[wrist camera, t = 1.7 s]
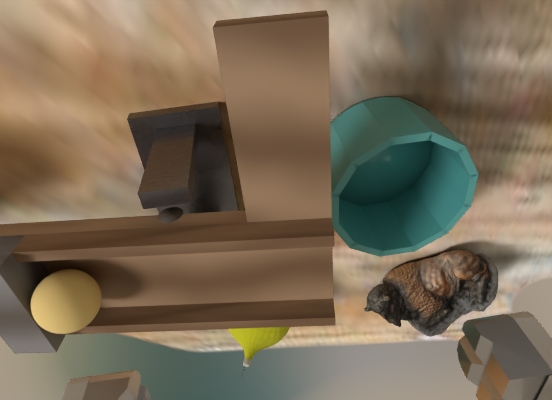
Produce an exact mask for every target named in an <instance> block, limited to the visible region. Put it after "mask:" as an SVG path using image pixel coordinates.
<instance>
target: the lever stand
mask: <svg viewBox="0 0 552 400" xmlns="http://www.w3.org/2000/svg"><path fill="white" fill-rule="evenodd" d="M127 120H128V123H129V126H130V129H131V132H132V134H133V137H134V140H135V143H136V146H137V149H138V152H139V155H140V158H141V161H142V164H143V167H144V170H145V171H144V174H143V178H142V181H141V184H140V188H139V191H138V195H139V198H140V201H141V204H142V206H143V209H148V208H156V207H157V208H158V211H159V213H160V212H161V211H163V210H164V209H167V208H170V207H179V208H181V209H182V210H183V212H184V214H189V213H207V212H224V211H239V208H238V203H237V198H236V193H235V187H234V182H233V177H232V172H231V166H230V161H229V156H228V150H227V145H226V140H225V135H224V129H223V124H222V119H221V114H220V108H219V103H218V102H213V103H206V104H198V105H191V106H183V107H176V108H168V109H161V110H153V111H146V112H138V113H131V114H129V116H128V118H127Z"/></svg>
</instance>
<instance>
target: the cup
mask: <svg viewBox="0 0 552 400" xmlns="http://www.w3.org/2000/svg"><path fill="white" fill-rule="evenodd" d="M330 141H331V201H332V223H333V229H334V230H335V231H336V232H337V233H338V235H339V236H340V237H341V238H342V239H343V241H344V242H345V243H346V244H347V245H348V246H349V248H352V249H355V250H359V251H362V252H366V253H369V254H373V255H376V256H387V255H393V254H400V253H407V252H414V251H416V250H418V249H420V248H422V247H424V246H425V245H427V244H429V243H431V242H433V241H435V240H436V239H438V238H440V237H442V236H444V235H446V234H447V233H448V232H449V231H450V230H451V229H452V228H453V226H454V225H455V224H456V223H457V222H458V221H459V219H460V218H461V217H462V216H463V215H464V214H465V212H466V211H467V210H468V209H469V208H470V207H471V204H472V200H473V196H474V191H475V187H476V183H477V179H478V175H479V174H478V172H477V169H476V167H475V165H474V163H473V161H472V159H471V157H470V155H469V152H468V150H467V148H466V146H465V145H464V144H463V143H462V142H461V141H460V140H459V139H458V138H456V137H455V136H454V135H453V134H452V133H451V132H450V131H449V130H448V129H447V128H446V127H445V126H444V125H443V124H442V123H441V122H440V121H439V120H438V119H437V118H435V117H434V116H433V115H432V114H431V113H430V112H429V111H428V110H426V109H424V108H422V107H420V106H418V105H417V104H415V103H413V102H412V101H409V100H407V99H404V98H400V97H391V96H384V97H375V98H370V99H367V100H364V101H361V102H359V103H357V104H354V105H352V106H351V107H349V108H347V109H346V110H344V111H343V112H342V113H340V114H339V115H338V116H337V117H336V118H335V119H334V120H333V121H331V123H330Z"/></svg>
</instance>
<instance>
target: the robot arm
mask: <svg viewBox="0 0 552 400" xmlns="http://www.w3.org/2000/svg"><path fill="white" fill-rule="evenodd" d="M462 331H463V332H464V334H465V336H464V337H462V338H461V339H460V340H459V342H458V347H457V352H458V359H459V362H460V365H461V368H462V370H463V372H464V374H465V376H466V378H467V379H468V380H470V381H471V382H473V383H474V384H476V385H477V386H478V387H477V393H476V396H477V398H478V400H552V338H551V337H550V335H549V334H548V333H547V332H546V330H545V329H544V328H543V327H542V325H541V324H540V323H539V322H538V320H537V319H536V318H535V317H534V316H533V315H532V314H531V313H529V312H518V313H511V314H502V315H496V316H490V317H484V318H478V319H472V320H467V321H466V322H464V324H463V327H462ZM140 380H141V377H140V375H139V373H138V371H137V370H133V371H125V372H118V373H110V374H104V375H96V376H88V377H81V378H74V379H71V380H70V381H69V383H68V384H67V386H66V388H65V390H64V393H63V395H62V398H61V400H150V396H149V393H148V390H147V388H146V387H144V386H141V385H140Z"/></svg>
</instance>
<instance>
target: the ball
mask: <svg viewBox="0 0 552 400" xmlns="http://www.w3.org/2000/svg"><path fill="white" fill-rule="evenodd" d="M100 306H101V290H100V288H99V285H98V283H97V282H96V281H95V279H94V278H93V277H92V276H90V275H89V274H87V273H85V272H83V271H80V270H75V269H65V270H60V271H57V272H54V273H52V274H50V275H48V276H47V277H46V278H44V279H43V280H42V281H41V282H40V283H39V284H38V286H37V287H36V288H35V290H34V292H33V295H32V298H31V312H32V315H33V317H34V319H35V321H36V322H37V323H38V325H39V326H41V327H42V328H43V329H45V330H47V331H49V332H52V333H56V334H67V333H72V332H76V331H78V330H80V329H82V328H84V327H85V326H87V325H88V324H89V323H90V322H91V321H92V320H93V319H94V318H95V316H96V315H97V313H98V311H99V309H100Z"/></svg>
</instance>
